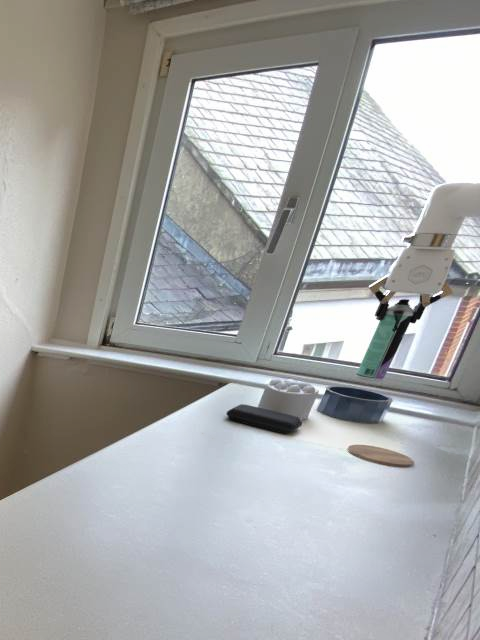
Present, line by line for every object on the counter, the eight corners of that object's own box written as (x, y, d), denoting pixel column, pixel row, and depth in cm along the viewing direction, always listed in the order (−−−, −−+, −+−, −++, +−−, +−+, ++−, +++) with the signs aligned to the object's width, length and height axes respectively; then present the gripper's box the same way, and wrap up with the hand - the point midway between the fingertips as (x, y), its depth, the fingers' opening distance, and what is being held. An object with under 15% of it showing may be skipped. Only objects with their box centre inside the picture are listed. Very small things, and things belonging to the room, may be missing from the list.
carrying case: (302, 428, 136) (236, 411, 146) (308, 416, 135) (240, 400, 145) (290, 437, 130) (222, 419, 140) (295, 425, 129) (226, 407, 139)
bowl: (395, 423, 143) (406, 401, 140) (350, 423, 141) (361, 401, 138) (345, 406, 155) (355, 385, 152) (304, 406, 153) (313, 385, 150)
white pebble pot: (312, 415, 146) (326, 384, 142) (293, 424, 139) (308, 391, 135) (267, 404, 153) (280, 374, 150) (248, 412, 147) (260, 380, 143)
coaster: (426, 466, 117) (428, 463, 117) (383, 467, 116) (384, 465, 115) (375, 446, 127) (376, 444, 126) (334, 447, 125) (335, 444, 125)
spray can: (386, 382, 140) (425, 301, 131) (360, 380, 142) (396, 299, 133) (376, 377, 145) (413, 298, 136) (351, 375, 146) (385, 297, 138)
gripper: (386, 241, 130) (353, 319, 138) (487, 244, 122) (446, 327, 130) (379, 240, 136) (348, 315, 144) (475, 243, 128) (436, 323, 136)
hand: (395, 320), depth 137 cm, fingers closed on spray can, 5 cm apart
